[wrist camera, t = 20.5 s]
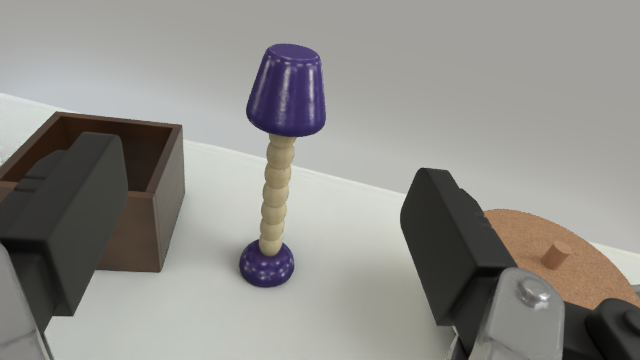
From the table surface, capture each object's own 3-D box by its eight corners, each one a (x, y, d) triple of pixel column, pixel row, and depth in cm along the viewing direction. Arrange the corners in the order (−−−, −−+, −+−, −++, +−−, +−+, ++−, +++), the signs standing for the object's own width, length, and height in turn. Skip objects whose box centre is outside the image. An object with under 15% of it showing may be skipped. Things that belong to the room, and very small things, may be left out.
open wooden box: (17, 266, 26) (-20, 185, 21) (74, 183, 33) (55, 111, 29) (160, 272, 27) (152, 198, 23) (185, 191, 34) (182, 124, 30)
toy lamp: (223, 258, 29) (231, 41, 19) (268, 231, 32) (294, 33, 23) (264, 298, 27) (297, 75, 17) (308, 265, 30) (357, 61, 20)
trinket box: (603, 395, 26) (712, 315, 20) (472, 428, 22) (559, 344, 17) (506, 270, 34) (564, 189, 28) (399, 281, 30) (442, 191, 25)
